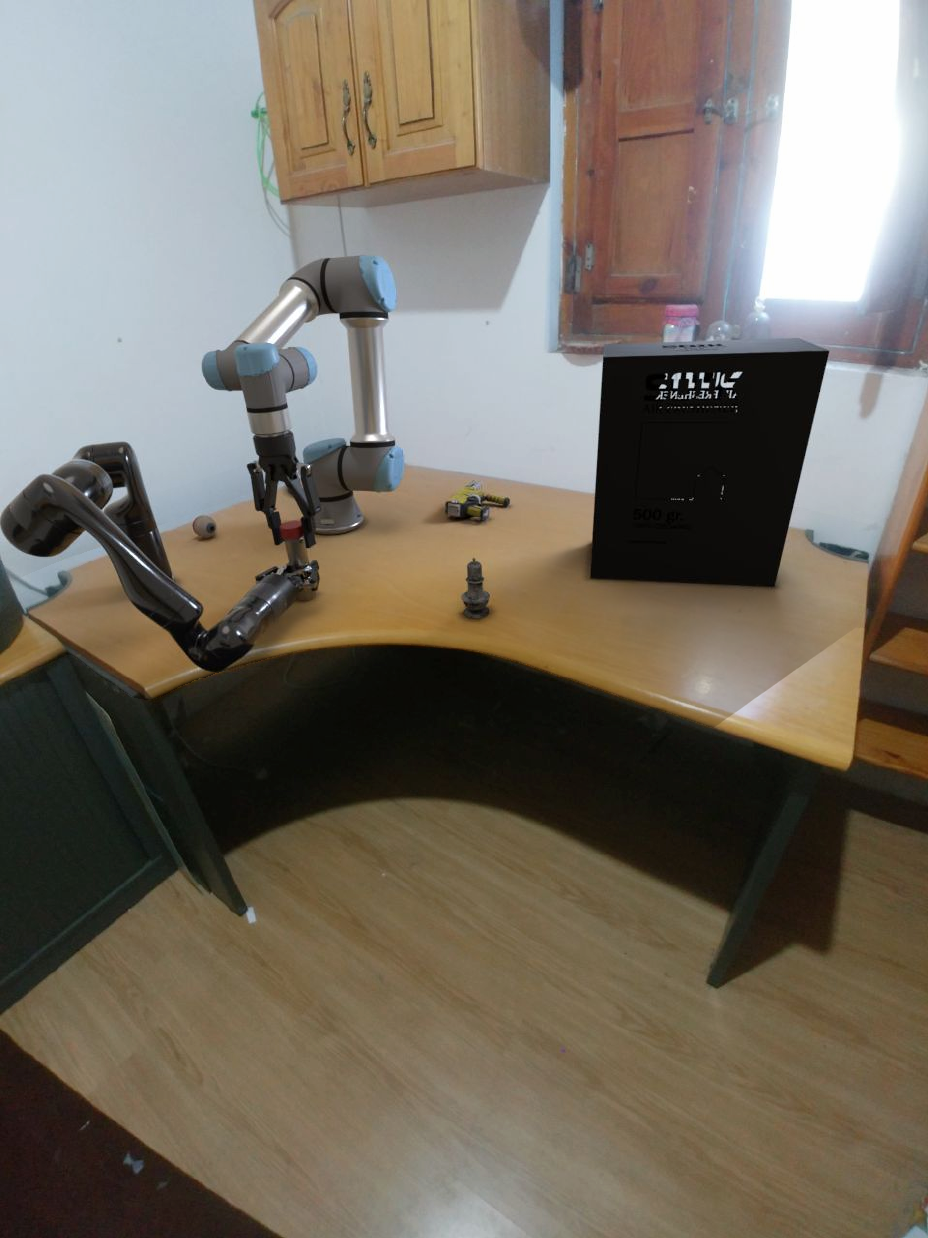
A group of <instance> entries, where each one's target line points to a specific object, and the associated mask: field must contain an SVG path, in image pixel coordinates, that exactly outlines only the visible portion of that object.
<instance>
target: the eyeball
mask: <svg viewBox="0 0 928 1238" xmlns="http://www.w3.org/2000/svg"><path fill="white" fill-rule="evenodd" d="M192 529H193V532H194V533H195V534H196V535H197V536H198V537H201V538H210V537H212V536H214V535H215V533H216V531H217V523H216V521H215V520H214V519H213V518H212V517H211V516H208V515H204V514H203V515H199V516H197V517H196V518H195V519H194V520H193V521H192Z"/></svg>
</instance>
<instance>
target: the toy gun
mask: <svg viewBox="0 0 928 1238" xmlns="http://www.w3.org/2000/svg"><path fill="white" fill-rule="evenodd" d="M485 501H486V502H488V503H492V504H496V505H497V504H498V505H502V506H504V507H508V506H509V505H510V504H511V498H510V497H507V496H506V497H505V496H504V497H503V496H499V495H496V494H492V493H487V494H486V495H485V494H484V491H483V482H481V481H479V480H478V481H477V480H472V481H471V482H469V484H467V485H465V486H464V487H462V488H461V489H460V490H459V491H458V492H456V493H455V494H454V495H453V496H451V497H450V498H448V500H447V501H445V502H444V514H445V515H446V516H449V518H454V519H456V518H465V517H469V516H473V517H476V518H479V521H485V520H487V519H488V518H489V517H490V508H491V506H490V505H485V506H484V505H483V504H482V503H483V502H485Z"/></svg>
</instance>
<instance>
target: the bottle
mask: <svg viewBox="0 0 928 1238" xmlns="http://www.w3.org/2000/svg"><path fill="white" fill-rule="evenodd" d="M284 545H285V550H286V555H287V559H288V563H289V564H290V569H291V574H292V573H293V572H295V571H297V570H298V569H301V570H303V569H304V568H306V567H307V566H308V565H309V564H310V559H309V554H308V550H307V549H308V548H306V545H305V540H304V536H302V537H300V538H297V539H284ZM306 577H307V573H306ZM316 595H317V594H316V591H312V590H311V588H304V590H303V591H302V592H299V593H298V594H297V596H296V599H297V600H298V601H300V602H307V601H311V600H313V599H315V598H316Z"/></svg>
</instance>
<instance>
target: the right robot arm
mask: <svg viewBox="0 0 928 1238" xmlns="http://www.w3.org/2000/svg"><path fill="white" fill-rule="evenodd" d="M395 282H396V281H395V279H394V275H393V272H392V270H391V269H390V266H389V265H388V263H387V262H386V260H385V259H384V258H382V257H381V256H379V255H370V254H369V255H366V254H360V255H350V256H338V257H337V256H336V257H325V258H324V257H323V258H319V259H318V258H317V259H316V260H313V261H311V262H309V263H307V264H306V265H304V266H303V267H301V268H299V269H298V270H296V271H295V272H294V273H293V274H292V275H290V276H289V277H288V278H287V279H286V280H285V281H284V282H282V284H281V285H280V287H279V291H278V296H276V297H275V299H273V300H272V302H270V303H269V305H267V307H266V308H265V309H263V311H261V313H260V314H259V315H258V316H257V317H256V318H255V319H254V320H253V321H252V322H251V323H250V324H249V325H248V326H246V328H245V329H244V330H243V331H242V332H241V333H240V334H239V335H238V336H237V337H236V338H235V339H234V340H233V341H232V342H231V343H230V344H229V345H228V346H227V347H226V348H225V349H222V350H221V349H215V350H211V351H206V353H205V354H204V355H203V357H202V360H201V373H202V376H203V378H204V380H205V382H206V384H207V385H208V386H209V387H210V388H211V389H214V390H216V391H225V392H242V395H243V398H244V399H243V400H244V403H245V409H246V414H247V417H248V418H247V420H248V425H249V428H250V432H251V433H252V434H253V436H252V441H253V445H254V450H255V453H256V455H257V456H258V459H257V460H253V461H251V462H249V463H247V464H246V468H247V471H248V473H249V475H250V480H251V489H252V496H253V503H254V509H255V511H256V512H261V513H263V514H264V515H265V519H266V524H267V527H268V529H269V530H271V534H272V539H273V543H274V546H279V545H281V544H283V543H285V541H284V538H282V536H281V532H280V525H281V524H283V523H282V519H281V515H280V511H277V510H278V507H276V505H277V497H278V496H277V495H278V488H279V487H278V486H279V482H281V483H283V484H285V486H286V489H287V491H288V493H289V494H290V495H292V497H293V499H294V500H295V502H296V505H297V506H298V508H299V510H300V513H301V514H302V516H301V517H300V520H299V521H301V525H302V530H303V535H304V540H305V545H306V548H307V549H311V548H313V547H314V546H315V545H316V544H317V541H316V535H315V534H317V535H323V536H324V535H325V536H327V535H329V536H331V535H339V534H340V535H341V534H345V533H350V532H353V531H355V530H357V529H359V528H361V527H362V526H363V525H364V523H365V519H364V514H363V512H362V510H361V508H360V505H359V504H358V501H357V500H356V498H355V495H354V492H375V493H377V494H380V493H391V492H393V491H395V490H397V489H398V487H399V486H400V484H401V482H402V479H403V476H404V472H405V460H406V458H405V454H404V450H403V448H402V447H400V446H398V445H396V437H394V436H393V434H392V433H390V429H389V413H388V412H389V411H388V397H387V396H388V395H387V379H386V363H385V343H384V327H385V326H387V324H388V323H389V319H390V318H389V313H391V312H392V311H394V310H395V308H396V306H397V297H398V296H397V287H396V283H395ZM330 314H331V315H333V314H335V315H339V316H338V317H339V322H340V323H341V324H342V326H344V327H345V328H346V336H347V347H348V361H349V373H350V388H351V399H352V412H353V426H354V433H353V435H352V436H351V437H350V438H349V445H348V444H347V441H346V439H345V438H342V437H334V438H328V439H323V440H318V441H315V442H313V443H309V444H308V445H306V446H305V447H304V448H303V450H302V457H303V458H302V460H303V462H300V460H299V459H298V457H297V455H296V452H297V451H296V450H297V447H296V441H295V436H294V433H293V432H292V431H291V429H292V421H291V416H290V411H289V404H288V400H287V394H288V393H291V392H295V391H297V390H303V389H305V388H306V387H308V386H310V385H312V384H313V383H314V382H315V381H316V378H317V376H318V364H317V361H316V358H315V357H314V355H313V354H312V352H311V351H309V350H308V349H306V348H304V347H302V346H289V347H287V348H284V347H285V346H286V344H287V343H289V341H290V340H291V339H292V338H293V337H294V335H295V334H296V333H297V332H298V331H299V330H300V329H301V328H302V326H303V325H304V324H307V323H308V324H309V323H310V322H313V321H314V320H315V319H316V318H317V317H319V316H322V315H330ZM263 472H264V473H263Z"/></svg>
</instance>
